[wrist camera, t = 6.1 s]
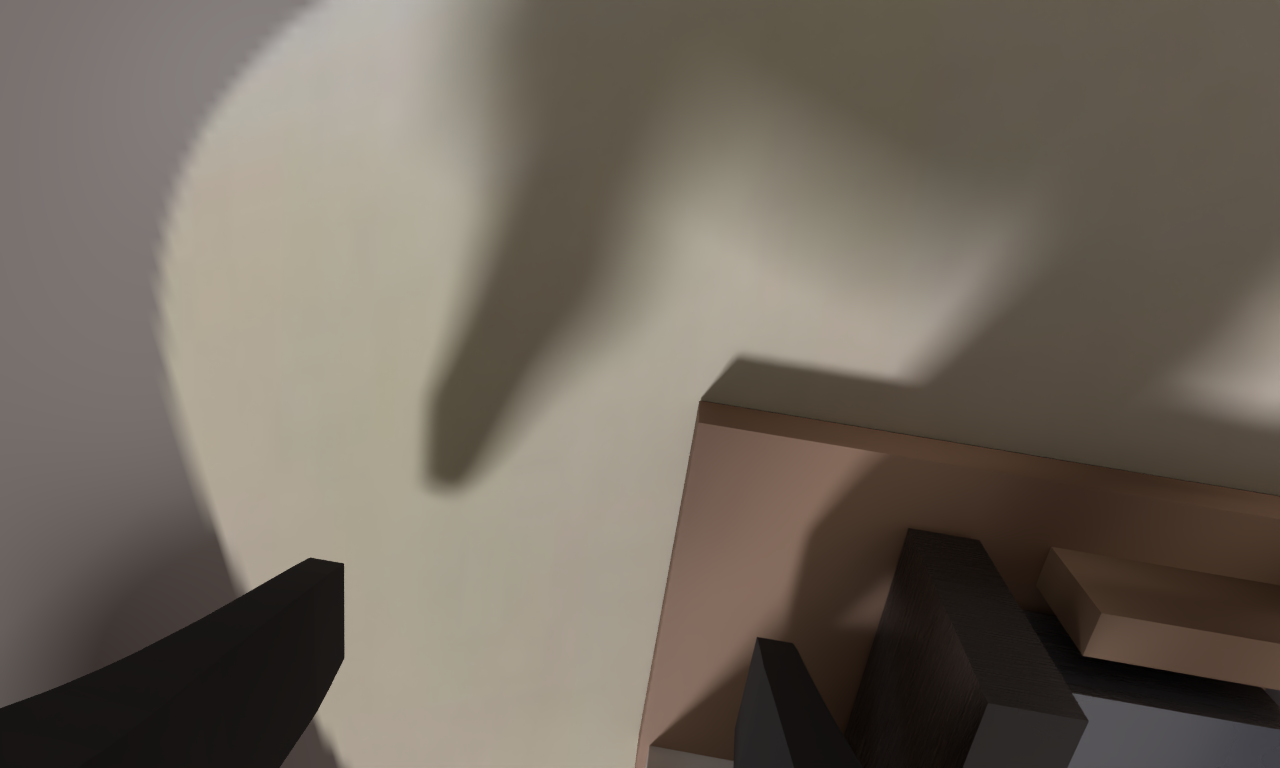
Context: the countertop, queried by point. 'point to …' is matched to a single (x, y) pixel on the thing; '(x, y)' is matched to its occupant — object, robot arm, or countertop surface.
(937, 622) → the dark grey angled block
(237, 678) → the robot arm
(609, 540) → the countertop surface
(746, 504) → the miniature room diorama
